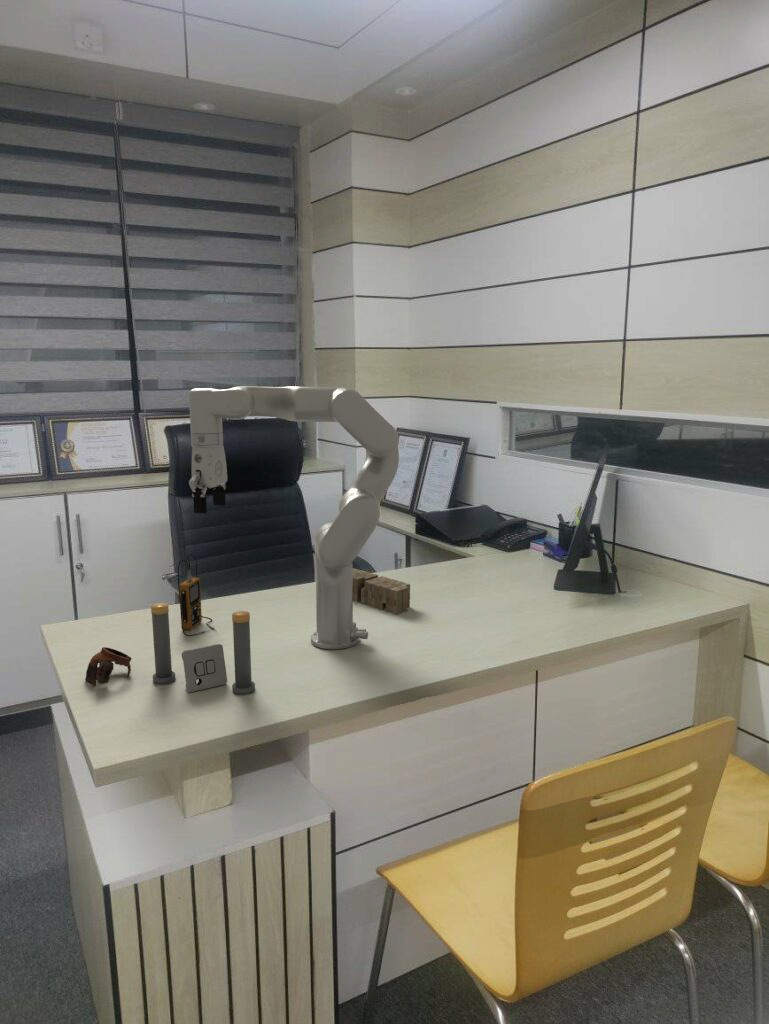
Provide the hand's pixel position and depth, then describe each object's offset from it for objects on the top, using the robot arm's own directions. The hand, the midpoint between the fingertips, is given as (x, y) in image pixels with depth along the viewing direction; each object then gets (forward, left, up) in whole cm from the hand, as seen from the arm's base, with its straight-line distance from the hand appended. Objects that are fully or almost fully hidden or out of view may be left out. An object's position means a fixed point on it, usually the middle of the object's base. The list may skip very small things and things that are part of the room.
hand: (210, 508), depth 183 cm
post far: (+2, +21, -36) cm, 42 cm away
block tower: (-28, -46, -37) cm, 65 cm away
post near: (-18, +21, -36) cm, 45 cm away
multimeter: (+10, -12, -37) cm, 40 cm away
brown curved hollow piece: (+15, +24, -37) cm, 47 cm away
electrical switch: (-8, +21, -37) cm, 43 cm away
